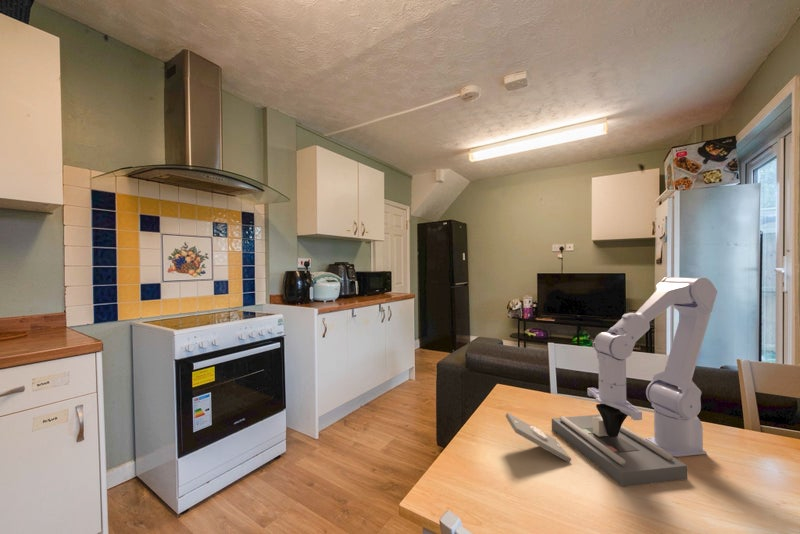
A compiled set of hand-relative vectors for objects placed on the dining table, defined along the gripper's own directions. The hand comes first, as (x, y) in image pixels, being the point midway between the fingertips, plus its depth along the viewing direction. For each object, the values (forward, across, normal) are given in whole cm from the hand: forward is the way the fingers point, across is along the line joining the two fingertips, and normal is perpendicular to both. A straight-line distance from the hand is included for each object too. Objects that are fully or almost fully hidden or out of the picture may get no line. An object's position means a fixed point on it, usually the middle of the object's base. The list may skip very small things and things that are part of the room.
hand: (612, 435), depth 78 cm
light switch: (+4, -3, -19) cm, 19 cm away
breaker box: (+4, -1, 0) cm, 4 cm away
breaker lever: (+1, -2, 0) cm, 3 cm away
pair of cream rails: (+1, -1, 0) cm, 2 cm away
